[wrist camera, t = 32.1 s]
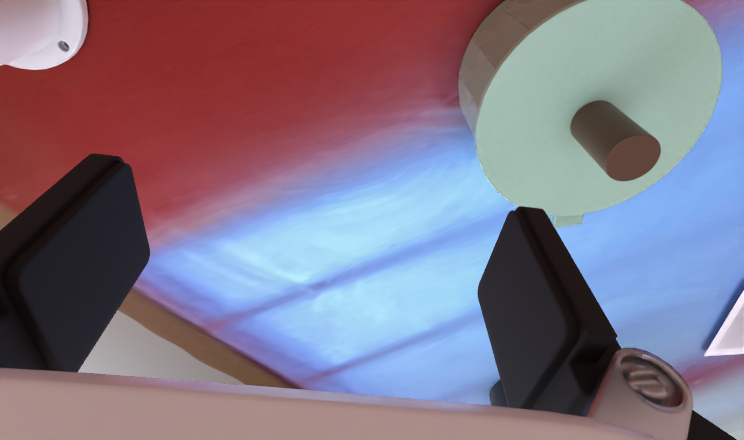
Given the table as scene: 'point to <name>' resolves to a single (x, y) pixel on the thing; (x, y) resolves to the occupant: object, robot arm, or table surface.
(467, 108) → the pale green cooking pot
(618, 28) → the pot lid
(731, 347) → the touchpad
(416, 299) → the table surface
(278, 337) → the table surface
